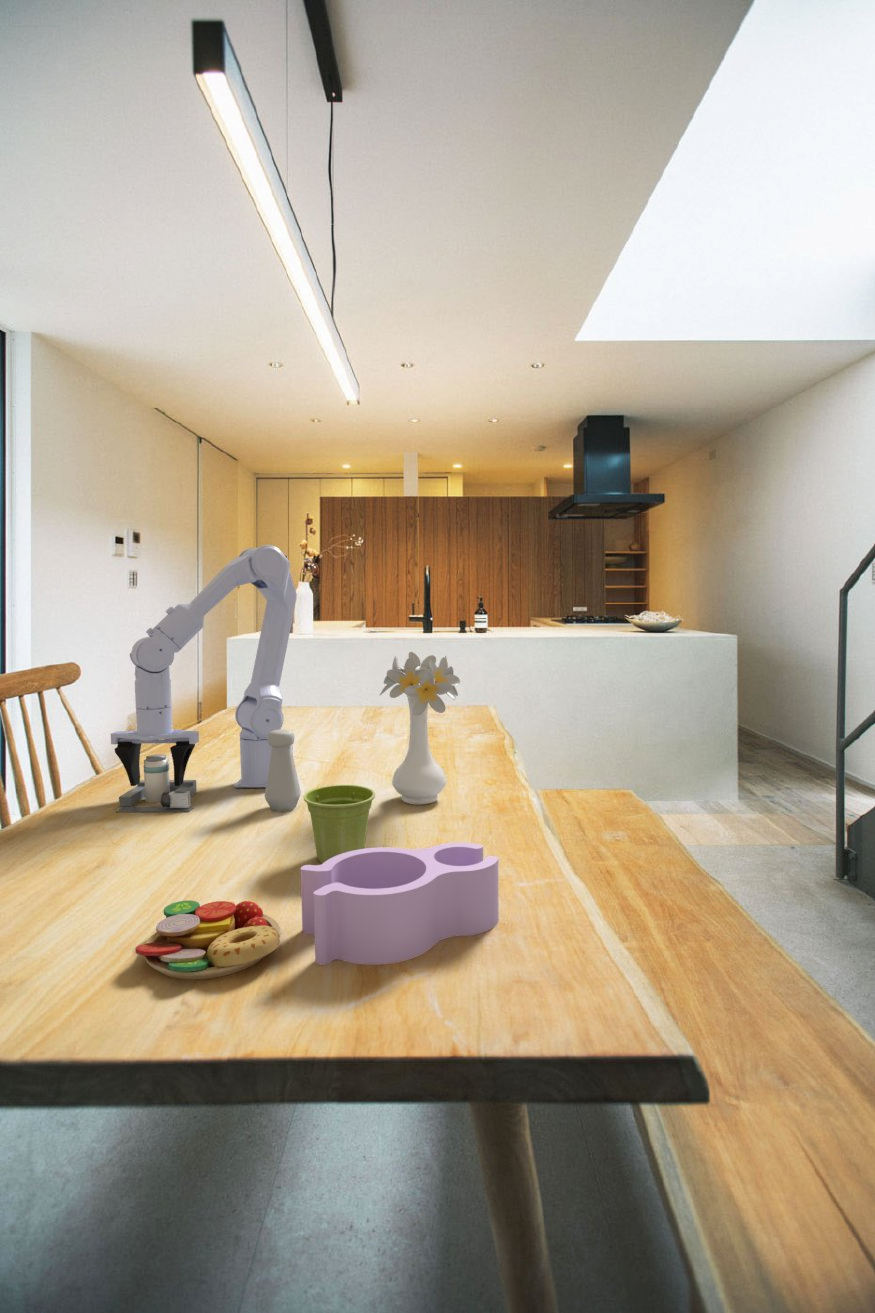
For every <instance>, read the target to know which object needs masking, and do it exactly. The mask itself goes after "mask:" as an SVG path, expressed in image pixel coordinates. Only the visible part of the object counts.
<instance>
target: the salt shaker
mask: <svg viewBox="0 0 875 1313" xmlns="http://www.w3.org/2000/svg"><path fill="white" fill-rule="evenodd" d="M267 740H268V745H270V746H272V749H271V756H270V764H269V771H268V777H267V784H266V787H265V791H264V798H265V802H266V803H267V804H268V806H269V808H270V809H271V811H272V812H277V813H284V812H290V811H293V810H294V809H296V807H297V804H298V801H299V799H300V797H301V793H302V791H301V786H300V782H299V781H300V780H299V777H298V772H297V768H296V764H295V759H294V752H293V753H292V749H291V745H292V744H294V742H295V733H294V732H293V731H292V730H290V729H285V728H283V729H282V728H281V729H280V730H274V731H271V732H270V733H269V734H268V738H267Z"/></svg>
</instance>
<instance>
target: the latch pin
mask: <svg viewBox="0 0 875 1313" xmlns="http://www.w3.org/2000/svg"><path fill="white" fill-rule="evenodd" d="M191 797H192V796H190V791H172V792H163V794H162V796H161V802H160V805H161V806H162V807H170V808H188V807H190V806H192V805H191V804H192V802H191V801H192V800H191V799H192V798H191Z"/></svg>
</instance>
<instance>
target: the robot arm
mask: <svg viewBox="0 0 875 1313" xmlns="http://www.w3.org/2000/svg"><path fill="white" fill-rule="evenodd" d="M247 584H248V585H249V584H251V585H253V586H255V588H256V589H257V590H258V591H259V592H260V593H261V595H262V596H263V598H264V599H265V601H266V605H265V609H264V615H263V620H262V625H261V629H260V635H259V640H258V644H257V650H256V654H255V660H254V664H253V670H252V675H251V679H250V683H249V684H248V686H247V687H246V688H245V690H244V694H243V698H242V700H241V701H240V703H239V704H238V705H237V707H236V708H235V714H234V716H235V721H236V723H237V725H238V726H239V727H240V728H241V731H240V733H239V751H240V752H239V753H240V754H239V755H240V756H239V757H240V779H239V780H238V781H237V782H236V783H234V785H233V786H234V788H236V789H237V788H266V784H267V777H268V771H269V764H270V756H271V749H272V746H270V745H268V740H267V738H268V734H269V733H270V732H271V731H274V730H280V729H282V727H283V725H284V714H283V709H282V708H283V707H282V705H283V695H282V694H281V690H280V683H281V678H282V674H283V669H284V663H285V658H286V653H287V649H288V643H289V639H290V634H291V629H292V624H293V623H292V622H293V619H294V618H293V617H294V614H295V608H296V603H297V590H296V588H295V583H294V581H293V577H292V574H291V562H290V560H289V559H288V558H287V557H286V555H285V554H284V553H283V552H282V551H281V549H279V548H278V547H277V546H274V545H272V544H271V545H270V544H263V545H261V546H259V547H251V548H247V549H244V550H243V551H241V552H240V553H239V555H238V556H236V557H234V558H233V559H232V560H230V561H229V562H227V564H226V565H225V566H224V567H223V568H222V569H221V570H220V571H219V572H218V573H217V574H216V575H215V576H214V578H212V580H211V581H209V583H208V584H207V585H206V586H205V587H204V588H203V589H202V590H201V591H200V592H199V593H198V594H197V595H196V597H194V598H193V600H192V601H190V603H179V604H177V605H176V606H169V607H168V608H167V609H166V610H165V612H166V614H167V615H165V616H164V618H162V620H161V621H159V622H158V623H157V624H156V625H155V626H154V627H153V628H152V627H149V628H148V629H147V630H146V631H145V633H146V634H147V635H148V636H145V637H142V638H140V639H138V640H137V641H135V643H134V644H133V645H132V647H131V648H132V649H131V652H130V653H129V658H130V661H131V662H132V664H133V665H134V666H135V667H134V676H135V679H134V693H135V695H134V696H135V698H134V701H135V717H136V719H135V720H136V721H135V722H136V730H123V731H122V730H120V731H118V730H117V731H113V732H112V733H110V744H111V745H117V746H116V747H115V748H114V753H115V754H116V756H117V757H118V758H119V760H120V762H121V763H122V765H123V768H124V770H125V772H126V775H127V778H128V780H129V785H130V787H136V786H137V784H139V783H140V781H141V769H140V768H141V767H140V759H141V757H140V756H141V748H142V747H141V746H142V744H174V745H172V746H171V747H169V749H170V754H171V758H172V762H173V763H172V764H173V780H174V784H175V786H180V785H181V784H182V783H183V780H185V774H186V769H187V766H188V763H189V760H190V758H191V755H192V753H193V751H194V749H195V747H196V744H198V743H199V742H200V736H199V735H200V732H199V730H185V729H184V730H183V729H174V728H173V709H172V708H173V706H172V685H171V677H170V676H171V674H170V673H171V672H170V667H171V666H172V664H173V663H174V660H175V654H176V653H179V652H180V651H181V650H182V649H183V648H184V647H185V646H186V645H187V644H188V643H189V642H190V641H191V640H192V639H193V638H194V637H195V636H196V635H197V634H198V633H199V632H200V631H201V630H202V629H203V628H204V616H206V615H207V614H208V613H209V612H210V611H211V610H213V608H215V606H217V605H218V604H219V603H220V602H221V601H222V600H224V598H225V597H226V596H228V595H229V594H230V593H231V592H232V591H233V590H234V589H235V588H237V587H240V586H243V585H247ZM293 744H294V743H293ZM293 744H292V745H291V749H292V753H293V754H294V748H293V746H294V745H293Z"/></svg>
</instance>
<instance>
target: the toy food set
mask: <svg viewBox="0 0 875 1313" xmlns="http://www.w3.org/2000/svg"><path fill="white" fill-rule="evenodd" d="M162 912H163V914H164V915H163V916H164V917H165V918H163V919H161V920H159V921H158V922H157V924H156V926H155V931H156V932H155V933H153V934H152V935H151V936H150V937H149V938H148V939H147V941H146V942H145V943H142V944H139V945H137V946H136V947H135V954H137V955H140V956H143V958H144V959H145V961H146V963H147V964H148V965H149V967H151V968H153V969H154V970H156V971H158V972H159V973H161V974H162V975H165V976H168V977H171V978H174V979H181V980H207V979H213V978H214V979H216V978H219V977H223V976H228V975H230V974H231V975H232V974H234V973H237V972H240V971H243V970H245V969H247V968H250V967H252V966H253V965H256V964H257V963H258V962H260V961H261V960H263V959H264V958H265V957H266V956H267V955H270V954H271V953H272V952H274V951H275V950H276V949H278V947H279V946H280V943H281V941H280V940H281V939H280V938H281V934H282V933H281V932H282V931H281V929H282V928H281V926H280V924H279V923H278V922H277V920H276V919H274V918H273V917H271V916H269V915H267V914H264V911H263V909H262V907H261V906H259V904H257V903H255V902H253V901H250V900H244V901H240V902H239V903H237V904H236V903H235V901H225V900H221V901H220V900H218V901H212V902H207V903H205V904H203V905H200V903H199V902H198V901H196V900H191V899H190V900H180V901H176V902H172V903H170V904H168V905H166V906H165V907H164V908H163V911H162Z"/></svg>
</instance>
